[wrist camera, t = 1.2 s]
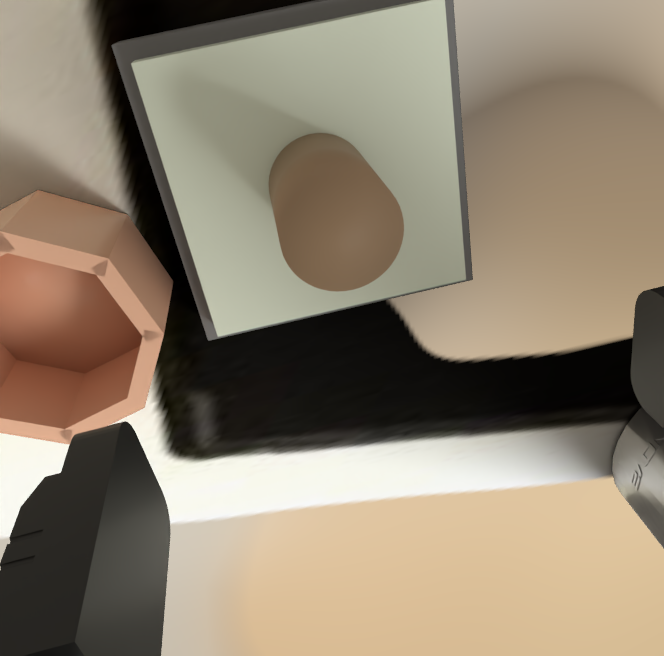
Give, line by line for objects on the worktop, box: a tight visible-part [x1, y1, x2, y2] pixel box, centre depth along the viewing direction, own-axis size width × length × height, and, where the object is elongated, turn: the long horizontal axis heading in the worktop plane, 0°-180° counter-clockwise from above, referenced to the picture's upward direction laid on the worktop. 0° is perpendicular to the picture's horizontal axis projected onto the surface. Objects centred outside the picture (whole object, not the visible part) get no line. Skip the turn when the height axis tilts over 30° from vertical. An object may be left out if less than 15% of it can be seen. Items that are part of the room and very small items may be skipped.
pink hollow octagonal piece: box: [0, 190, 173, 444], centre depth 21 cm, size 7×7×4 cm
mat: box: [111, 0, 473, 341], centre depth 21 cm, size 10×10×2 cm
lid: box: [131, 0, 466, 337], centre depth 18 cm, size 9×9×5 cm
